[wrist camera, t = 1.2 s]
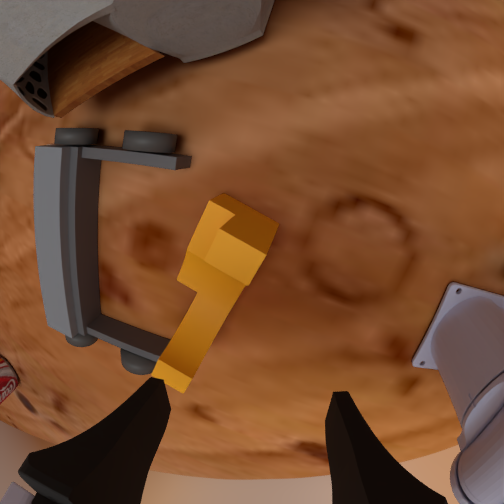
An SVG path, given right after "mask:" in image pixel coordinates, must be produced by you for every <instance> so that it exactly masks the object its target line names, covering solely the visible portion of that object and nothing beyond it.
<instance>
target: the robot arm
mask: <svg viewBox="0 0 504 504" xmlns="http://www.w3.org/2000/svg"><path fill="white" fill-rule="evenodd" d="M458 288H460V289H459V291H458V292H456V290H457V289H458ZM422 361H423V362H422ZM421 362H422V363H421ZM412 365H413V366H414V367H420V368H428V369H436V370H439V372H440V375H441V377H442V379H443V382H444V384H445V386H446V389H447V391H448V394H449V396H450V398H451V401H452V403H453V406H454V409H455V411H456V414H457V416H458V419H459V422H460V424H461V427H462V432H461V434H460V436H459V437H458V438H457V441H458V444H459V447H460V450H461V452H460V453H459V454H458V455H457V456H456V458H455V459H454V461H453V463H452V466H451V471H450V483H451V487H452V491H453V493H454V496H455V497H456V499H457V501H458V502H459V503H460V504H504V296H503V295H499V294H496V293H492V292H488V291H485V290H481V289H478V288H474V287H470V286H467V285H463V284H459V283H456V282H452V283H450V284H449V285H448V287H447V290H446V292H445V294H444V297H443V299H442V301H441V303H440V306H439V308H438V310H437V312H436V314H435V317H434V319H433V321H432V323H431V325H430V327H429V329H428V331H427V333H426V335H425V337H424V339H423V341H422V343H421V345H420V346H419V348H418V350H417V352H416V354H415V356H414V357H413V359H412ZM170 411H171V407H170V403H169V399H168V395H167V391H166V387H165V383H164V379H158V378H153V377H151V378H149V379H148V380H147V381H146V382H145V383H144V384H143V385H142V386H141V387H140V388H139V389H138V390H137V391H136V392H135V393H134V394H133V395H131V396H130V397H129V398H128V399H127V400H126V401H125V402H124V403H123V404H121V405H120V406H119V407H118V408H117V409H116V410H114V411H113V412H112V413H111V414H109V415H108V416H107V417H106V418H104V419H103V420H102V421H100V422H99V423H97V424H96V425H94V426H93V427H91V428H90V429H88V430H87V431H85V432H83V433H81V434H79V435H77V436H76V437H74V438H72V439H70V440H68V441H65V442H63V443H60V444H58V445H55V446H53V447H50V448H47V449H43V450H39V451H36V452H32V453H29V455H28V456H27V458H26V459H25V461H24V462H23V464H22V466H21V467H20V469H19V470H18V473H19V475H20V477H21V478H22V479H23V480H24V481H25V482H26V483H27V484H29V485H30V486H31V487H32V488H33V489H34V490H35V491H36V492H37V493H36V495H35V496H34V495H33V494H31V493H30V492H28V491H27V490H25V489H24V488H22V487H20V486H19V485H18V484H16V483H15V482H12V483H11V484H10V486H9V488H8V490H7V491H6V493H5V495H4V496H3V498H2V500H1V502H0V504H140V503H141V499H142V494H143V490H144V486H145V482H146V478H147V474H148V471H149V469H150V466H151V463H152V461H153V458H154V456H155V454H156V451H157V449H158V446H159V444H160V442H161V439H162V437H163V434H164V432H165V429H166V427H167V423H168V419H169V415H170ZM325 434H326V446H327V453H328V460H329V467H330V474H331V481H332V502H333V503H332V504H448V503H447V500H446V498H445V497H444V496H442V495H440V494H438V493H437V492H435V491H433V490H432V489H430V488H428V487H427V486H426V485H424V484H423V483H422V482H420V481H419V480H418V479H416V478H415V477H414V476H413V475H412V474H410V473H409V472H408V471H407V470H406V469H405V468H403V467H402V466H401V465H400V464H399V463H398V462H397V461H396V460H395V459H394V458H393V456H392V455H391V454H390V453H389V452H388V451H387V450H386V449H385V447H384V446H383V445H382V444H381V442H380V441H379V440H378V438H377V437H376V436H375V434H374V433H373V432H372V430H371V429H370V427H369V426H368V424H367V423H366V421H365V420H364V418H363V417H362V415H361V413H360V412H359V410H358V408H357V407H356V405H355V403H354V401H353V399H352V398H351V396H350V394H349V392H348V391H342V392H333V395H332V398H331V402H330V406H329V409H328V413H327V416H326V420H325Z"/></svg>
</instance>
